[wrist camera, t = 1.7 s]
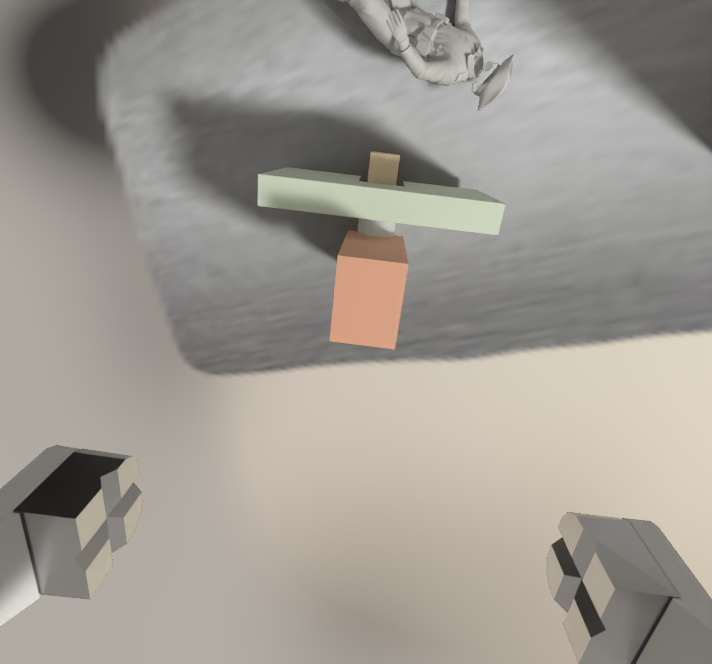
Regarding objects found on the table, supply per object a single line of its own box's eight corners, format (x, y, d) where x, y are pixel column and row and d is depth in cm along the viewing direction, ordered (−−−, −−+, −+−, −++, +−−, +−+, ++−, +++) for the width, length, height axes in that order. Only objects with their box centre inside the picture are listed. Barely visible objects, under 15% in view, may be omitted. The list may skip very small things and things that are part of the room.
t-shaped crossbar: (287, 166, 28) (231, 180, 18) (477, 189, 28) (530, 216, 17) (282, 267, 30) (232, 328, 20) (456, 288, 30) (493, 361, 20)
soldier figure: (363, -107, 24) (566, -23, 22) (356, -7, 28) (525, 71, 26) (275, -50, 21) (503, 54, 19) (283, 53, 25) (468, 146, 23)
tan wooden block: (372, 151, 28) (370, 152, 24) (397, 154, 28) (400, 155, 24) (358, 272, 31) (354, 292, 27) (381, 275, 31) (380, 295, 27)
